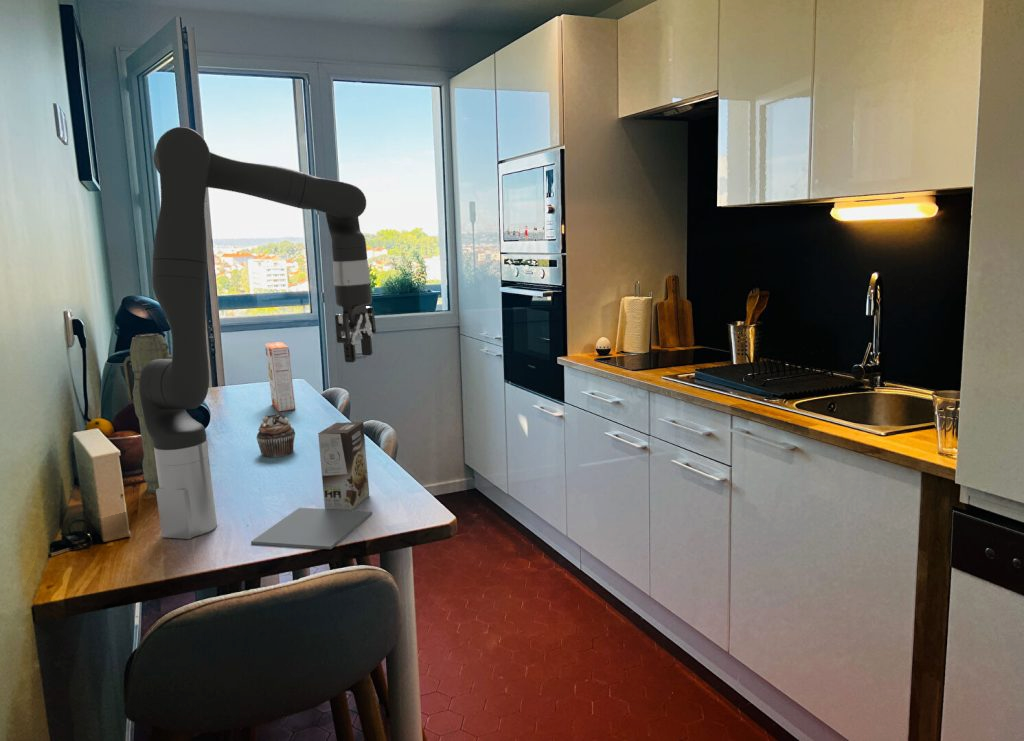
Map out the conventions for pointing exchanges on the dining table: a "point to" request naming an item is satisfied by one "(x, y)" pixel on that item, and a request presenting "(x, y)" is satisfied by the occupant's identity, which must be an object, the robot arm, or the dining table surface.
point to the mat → (313, 528)
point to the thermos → (141, 354)
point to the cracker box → (280, 376)
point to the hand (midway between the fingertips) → (359, 358)
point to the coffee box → (343, 465)
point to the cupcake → (275, 436)
